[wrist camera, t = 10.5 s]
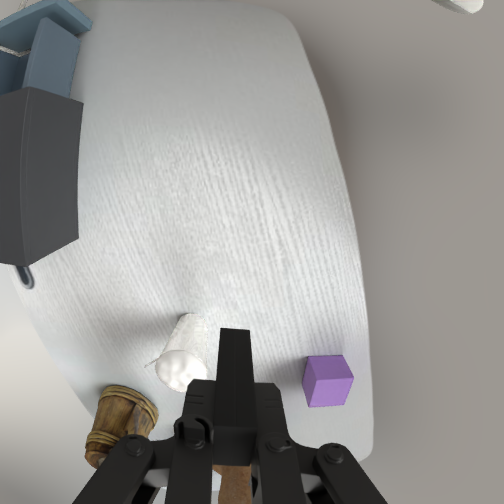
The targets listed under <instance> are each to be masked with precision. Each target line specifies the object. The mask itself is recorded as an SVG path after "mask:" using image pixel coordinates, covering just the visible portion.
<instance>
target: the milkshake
mask: <svg viewBox="0 0 504 504" xmlns="http://www.w3.org/2000/svg"><path fill="white" fill-rule="evenodd" d="M207 332H208V327H207V324H206V321H205V319H204V318H202V317H201V316H199V315H198V314H192V313H187V314H186V315H184V316H182V317H180V319H179V321H178V323H177V325H176V327H175V329H174V331H173V332H172V334H171V336H170V338H169V340H168V342H167V344H166V345H165V347H164V349H163V351H162V352H161V354H160V356H159V358H157V359H155V360H153V361H152V362H150V363H148V364H147V365H146V366H145V367H147V366H148V365H150V364H152V363H153V362H155V361H156V365H155V370H156V373H157V376H158V377H159V379H160V380H161V381H162V382H163V383H164V384H165V385H166V386H168V387H169V388H171V389H173V390H175V391H178V392H186V391H187V386H188V385H189V383H190V382H191V381H192V380H193V379H203V380H206V378H207ZM145 367H144V368H145Z"/></svg>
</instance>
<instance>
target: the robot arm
mask: <svg viewBox="0 0 504 504" xmlns="http://www.w3.org/2000/svg"><path fill="white" fill-rule="evenodd" d="M173 426H174V436H173V437H171V438H169V439H165V440H159V441H150V440H149V439H148V438H146V437H144V436H143V435H138V434H128V435H126V436H123V437H122V438H121V439H119V440H118V442H117V443H116V444H115V446H114V447H113V448H112V450H111V451H110V453H109V454H108V455H107V457H106V458H105V459H104V461H103V462H102V463H101V465H100V466H99V468H98V469H97V470H96V472H95V473H94V475H93V476H92V477H91V479H90V480H89V481H88V483H87V484H86V485H85V487H84V488H83V490H82V491H81V492H80V494H79V495H78V496H77V498H76V499H75V501H74V502H73V503H72V504H152V503H153V501H154V499H155V497H156V495H157V493H158V491H159V490H160V488H161V487H166V486H167V491H166V498H165V504H211V493H212V466H213V465H223V466H248V467H250V464H251V475H250V479H249V483H248V486H250V487H251V504H388V503H387V502H386V501H385V499H384V498H383V496H382V495H381V494H380V493H379V491H378V490H377V489H376V487H375V486H374V484H373V483H372V482H371V480H370V479H369V477H368V476H367V475H366V473H365V472H364V470H363V469H362V468H361V466H360V465H359V464H358V462H357V461H356V459H355V458H354V456H353V455H352V454H351V452H350V451H349V450H348V449H347V448H346V447H345V446H343V445H341V444H337V443H328V444H325V445H323V446H321V447H320V448H319V449H316V448H311V447H306V446H302V445H300V444H298V443H296V442H295V441H293V440H292V439H291V437H290V436H289V433H288V429H287V424H286V419H285V414H284V408H283V403H282V398H281V393H280V390H279V389H278V388H277V386H276V385H275V384H274V383H255V382H254V374H253V362H252V350H251V339H250V330H243V329H230V328H221V329H220V340H219V351H218V363H217V376H216V381H214V380H203V379H193V380H192V381H191V382H190V383H189V385H188V386H187V391H186V396H185V402H184V407H183V412H182V416H181V417H180V418H178V419H177V420H176V421H175V423H174V425H173Z"/></svg>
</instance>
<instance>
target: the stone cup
mask: <svg viewBox="0 0 504 504" xmlns="http://www.w3.org/2000/svg"><path fill="white" fill-rule="evenodd" d="M212 469H213V470H215V471H216V472H217V473H218V474H220V475H222V479H221V486H220V491H219V496H218V504H251V487H250V486H248V483H249V479H250V475H251V464H250V467H248V466H223V465H213V466H212Z"/></svg>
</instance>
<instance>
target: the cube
mask: <svg viewBox="0 0 504 504" xmlns="http://www.w3.org/2000/svg"><path fill="white" fill-rule="evenodd" d="M353 380H354V376H353V374H352V372H351V370H350V368H349V366H348V364H347V362H346V361H345V359H344V357H343V355H339V356H308V360H307V364H306V368H305V373H304V377H303V381H302V386H303V389H304V393H305V396H306V400H307V404H308V407H325V406H337V405H344V404H345V401H346V399H347V396H348V393H349V391H350V388H351V385H352V383H353Z"/></svg>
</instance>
